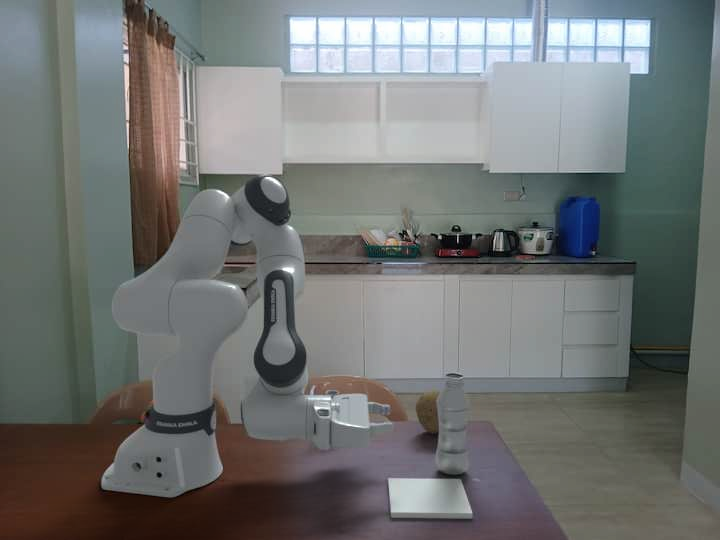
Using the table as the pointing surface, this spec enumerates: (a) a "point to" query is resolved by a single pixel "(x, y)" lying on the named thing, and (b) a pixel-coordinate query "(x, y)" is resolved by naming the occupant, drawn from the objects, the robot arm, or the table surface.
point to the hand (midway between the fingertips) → (391, 418)
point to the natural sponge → (428, 411)
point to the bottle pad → (428, 498)
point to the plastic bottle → (452, 426)
